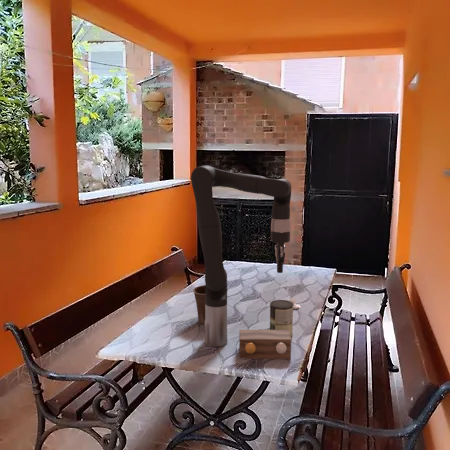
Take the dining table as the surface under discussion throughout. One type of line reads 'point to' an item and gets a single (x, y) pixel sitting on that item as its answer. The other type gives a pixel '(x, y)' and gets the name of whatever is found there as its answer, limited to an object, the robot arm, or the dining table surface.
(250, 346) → the amber button
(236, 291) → the dining table surface
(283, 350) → the ivory button
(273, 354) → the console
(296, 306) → the teacup and saucer
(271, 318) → the coffee can
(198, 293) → the plant pot
